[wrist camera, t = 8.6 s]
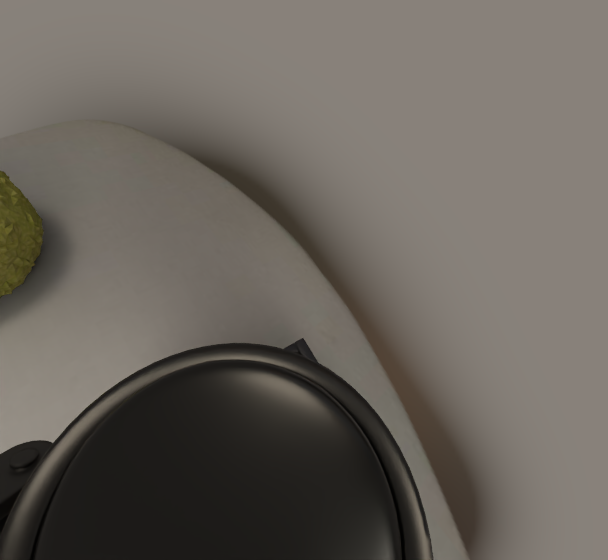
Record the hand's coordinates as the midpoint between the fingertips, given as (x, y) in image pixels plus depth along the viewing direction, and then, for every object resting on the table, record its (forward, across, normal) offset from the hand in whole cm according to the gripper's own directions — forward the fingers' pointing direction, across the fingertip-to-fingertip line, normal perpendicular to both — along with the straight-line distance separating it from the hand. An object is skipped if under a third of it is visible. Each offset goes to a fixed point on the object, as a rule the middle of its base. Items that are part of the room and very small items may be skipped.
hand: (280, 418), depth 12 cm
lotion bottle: (+6, 0, +9) cm, 11 cm away
